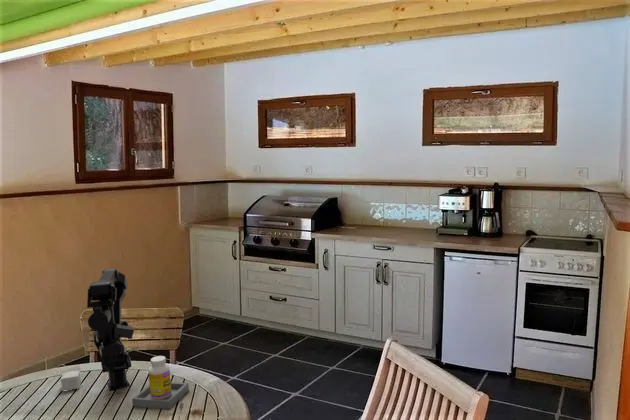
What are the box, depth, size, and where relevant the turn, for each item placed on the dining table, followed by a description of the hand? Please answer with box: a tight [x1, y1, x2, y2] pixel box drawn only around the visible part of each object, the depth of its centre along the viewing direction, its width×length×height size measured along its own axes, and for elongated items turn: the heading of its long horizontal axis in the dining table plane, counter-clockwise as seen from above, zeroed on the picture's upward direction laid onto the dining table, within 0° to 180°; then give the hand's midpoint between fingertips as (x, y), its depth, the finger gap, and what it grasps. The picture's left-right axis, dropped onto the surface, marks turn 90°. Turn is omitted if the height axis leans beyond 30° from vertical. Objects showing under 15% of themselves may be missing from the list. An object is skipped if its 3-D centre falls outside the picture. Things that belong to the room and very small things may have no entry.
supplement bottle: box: [148, 355, 172, 399], centre depth 172 cm, size 7×7×13 cm
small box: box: [60, 369, 82, 392], centre depth 184 cm, size 6×6×5 cm
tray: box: [131, 381, 190, 410], centre depth 172 cm, size 13×13×2 cm
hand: (109, 367), depth 170 cm, fingers open, 9 cm apart
